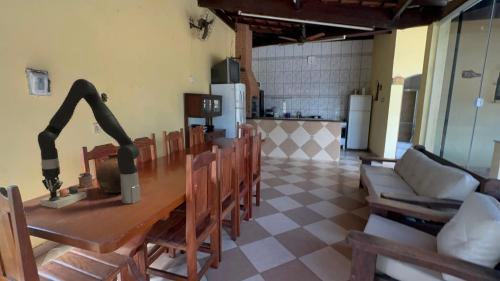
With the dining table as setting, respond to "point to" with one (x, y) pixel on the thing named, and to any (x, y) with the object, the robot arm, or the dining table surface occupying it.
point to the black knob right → (73, 189)
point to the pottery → (109, 175)
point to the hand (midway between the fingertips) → (53, 197)
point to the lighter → (85, 180)
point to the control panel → (63, 200)
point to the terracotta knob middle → (63, 192)
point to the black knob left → (53, 199)
